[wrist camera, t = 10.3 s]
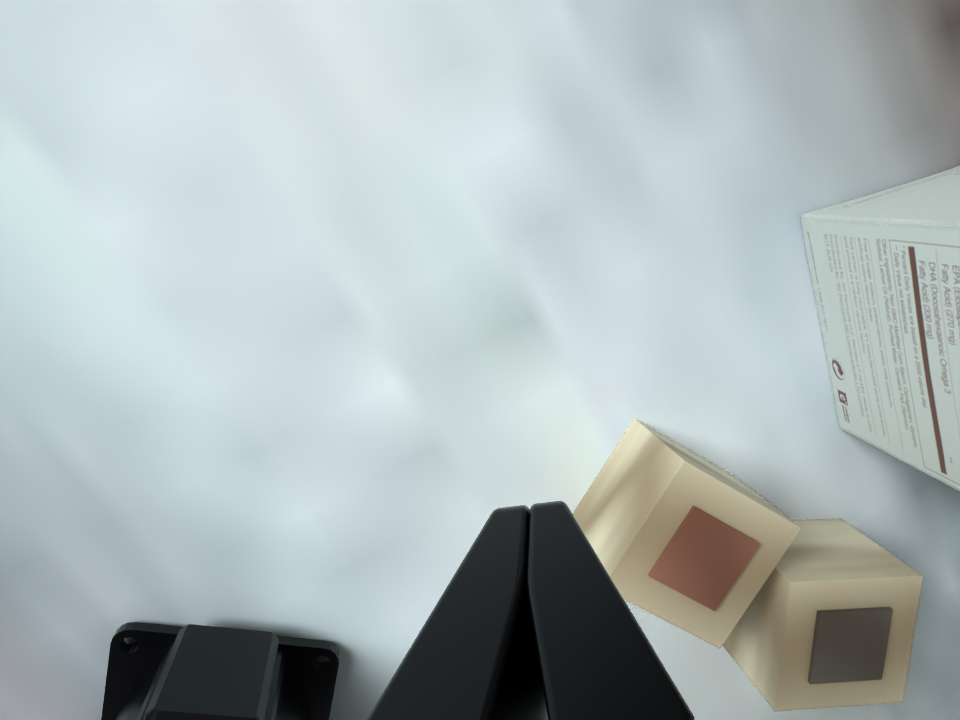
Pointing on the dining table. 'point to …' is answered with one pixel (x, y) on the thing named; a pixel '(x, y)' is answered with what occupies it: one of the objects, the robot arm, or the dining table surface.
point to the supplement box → (894, 318)
